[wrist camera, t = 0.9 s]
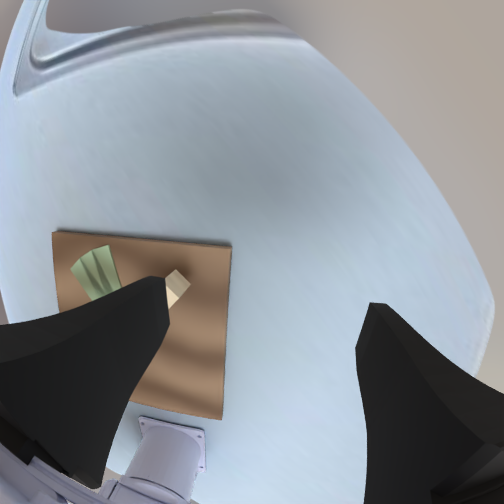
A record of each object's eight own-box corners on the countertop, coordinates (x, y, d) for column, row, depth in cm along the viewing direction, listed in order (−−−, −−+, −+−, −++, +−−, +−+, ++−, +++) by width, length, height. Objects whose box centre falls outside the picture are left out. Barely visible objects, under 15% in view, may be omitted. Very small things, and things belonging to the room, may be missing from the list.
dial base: (222, 414, 27) (221, 421, 26) (79, 378, 28) (75, 383, 26) (231, 246, 23) (229, 249, 22) (57, 230, 24) (50, 232, 23)
